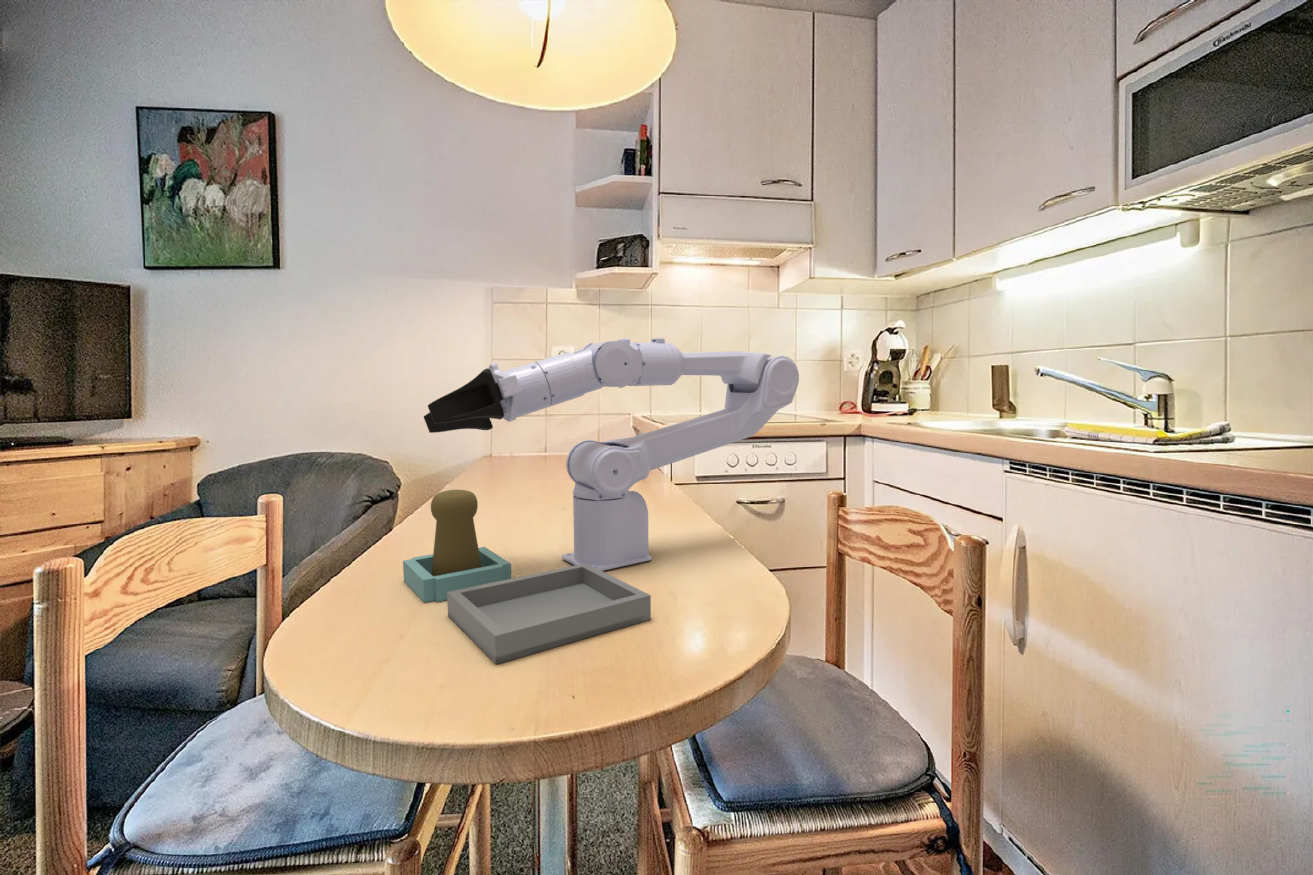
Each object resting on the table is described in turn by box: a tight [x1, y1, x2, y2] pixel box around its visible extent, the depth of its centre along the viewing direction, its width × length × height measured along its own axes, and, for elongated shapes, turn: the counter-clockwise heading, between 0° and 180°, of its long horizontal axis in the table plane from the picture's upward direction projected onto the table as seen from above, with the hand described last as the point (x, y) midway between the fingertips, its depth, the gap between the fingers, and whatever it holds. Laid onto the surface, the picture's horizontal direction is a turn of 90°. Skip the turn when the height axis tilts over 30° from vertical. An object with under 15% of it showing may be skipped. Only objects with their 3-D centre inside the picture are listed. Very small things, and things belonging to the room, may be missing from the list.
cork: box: [430, 489, 481, 577], centre depth 70 cm, size 6×6×11 cm
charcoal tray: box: [446, 563, 652, 665], centre depth 60 cm, size 16×13×2 cm
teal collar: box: [402, 546, 512, 604], centre depth 71 cm, size 10×10×2 cm
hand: (428, 419), depth 68 cm, fingers open, 7 cm apart
